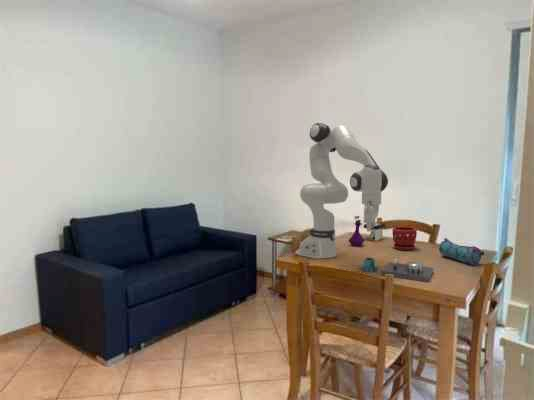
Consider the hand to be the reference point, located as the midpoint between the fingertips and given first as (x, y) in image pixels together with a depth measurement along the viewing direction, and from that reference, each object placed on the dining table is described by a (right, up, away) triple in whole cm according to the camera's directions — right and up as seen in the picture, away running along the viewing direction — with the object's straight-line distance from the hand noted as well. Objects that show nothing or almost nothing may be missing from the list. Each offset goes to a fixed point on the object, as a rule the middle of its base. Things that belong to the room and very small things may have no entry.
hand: (370, 229), depth 185 cm
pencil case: (+50, -17, +17) cm, 56 cm away
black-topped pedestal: (+19, -12, +66) cm, 70 cm away
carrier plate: (+16, -20, -4) cm, 26 cm away
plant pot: (+30, -14, +42) cm, 54 cm away
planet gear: (0, -19, +2) cm, 19 cm away
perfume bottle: (+5, -14, +50) cm, 52 cm away
